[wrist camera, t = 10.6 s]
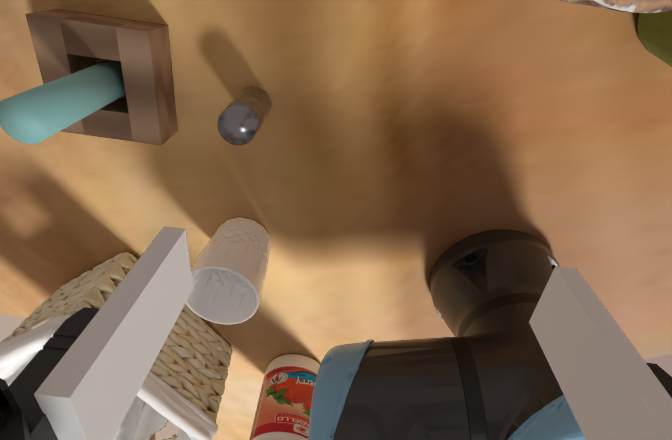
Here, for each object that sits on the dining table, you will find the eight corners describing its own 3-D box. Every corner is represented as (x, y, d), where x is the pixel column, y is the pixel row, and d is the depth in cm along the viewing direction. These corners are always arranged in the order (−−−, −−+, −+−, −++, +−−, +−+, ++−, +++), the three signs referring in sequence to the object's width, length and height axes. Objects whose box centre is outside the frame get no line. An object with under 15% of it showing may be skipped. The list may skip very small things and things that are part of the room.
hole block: (177, 130, 42) (161, 145, 38) (80, 117, 42) (55, 130, 38) (167, 25, 36) (148, 31, 33) (56, 9, 36) (25, 13, 33)
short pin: (270, 121, 41) (254, 147, 35) (238, 116, 41) (218, 142, 35) (271, 89, 39) (255, 111, 33) (238, 84, 39) (216, 105, 33)
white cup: (206, 212, 47) (172, 266, 39) (272, 212, 47) (253, 267, 38) (218, 265, 51) (190, 324, 43) (279, 265, 51) (263, 325, 42)
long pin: (142, 93, 40) (50, 147, 28) (110, 88, 40) (4, 140, 28) (138, 59, 38) (39, 102, 26) (104, 54, 38) (-11, 94, 26)
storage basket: (246, 352, 60) (216, 452, 48) (167, 382, 65) (122, 480, 53) (129, 237, 50) (52, 327, 37) (45, 283, 55) (-47, 377, 42)
